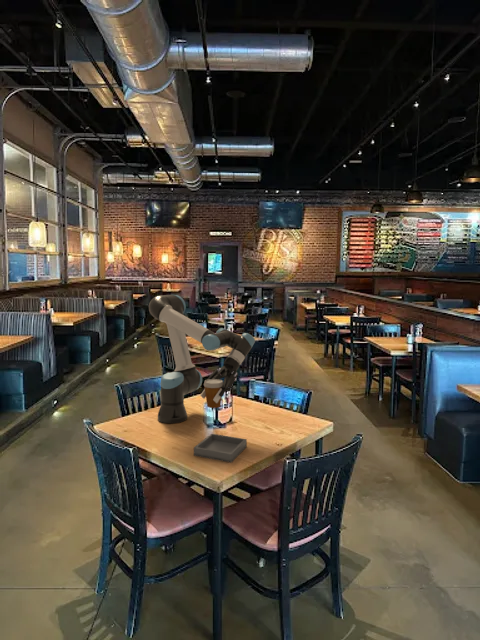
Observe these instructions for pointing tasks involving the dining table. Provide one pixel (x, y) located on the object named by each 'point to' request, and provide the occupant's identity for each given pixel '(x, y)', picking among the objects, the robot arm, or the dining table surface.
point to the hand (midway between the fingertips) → (208, 399)
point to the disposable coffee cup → (212, 391)
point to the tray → (220, 447)
